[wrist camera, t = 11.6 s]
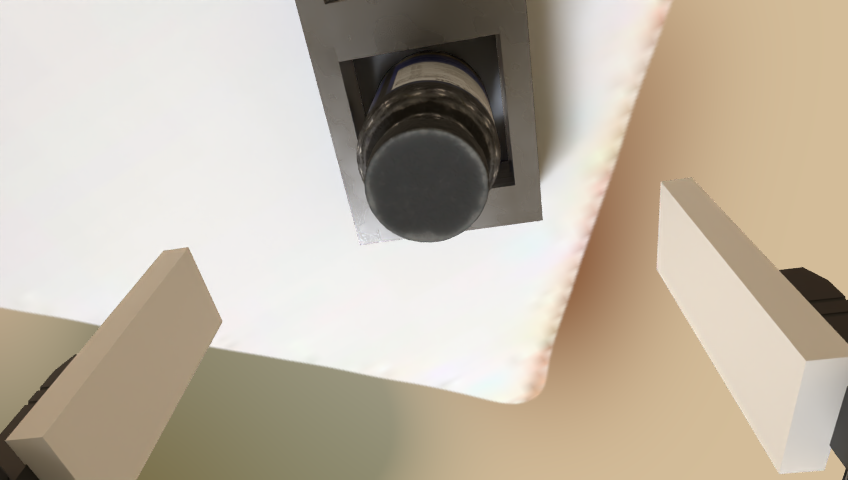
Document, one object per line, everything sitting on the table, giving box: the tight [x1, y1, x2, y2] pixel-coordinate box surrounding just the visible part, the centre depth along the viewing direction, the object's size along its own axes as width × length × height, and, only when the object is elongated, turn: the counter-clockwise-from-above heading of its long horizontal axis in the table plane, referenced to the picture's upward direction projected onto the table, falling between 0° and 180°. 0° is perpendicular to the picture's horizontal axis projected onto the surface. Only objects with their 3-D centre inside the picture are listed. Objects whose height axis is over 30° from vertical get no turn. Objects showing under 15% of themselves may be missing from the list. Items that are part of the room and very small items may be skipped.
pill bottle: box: [357, 51, 501, 242], centre depth 25 cm, size 6×6×11 cm
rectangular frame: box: [295, 0, 543, 245], centre depth 26 cm, size 22×10×4 cm, turn 10°
